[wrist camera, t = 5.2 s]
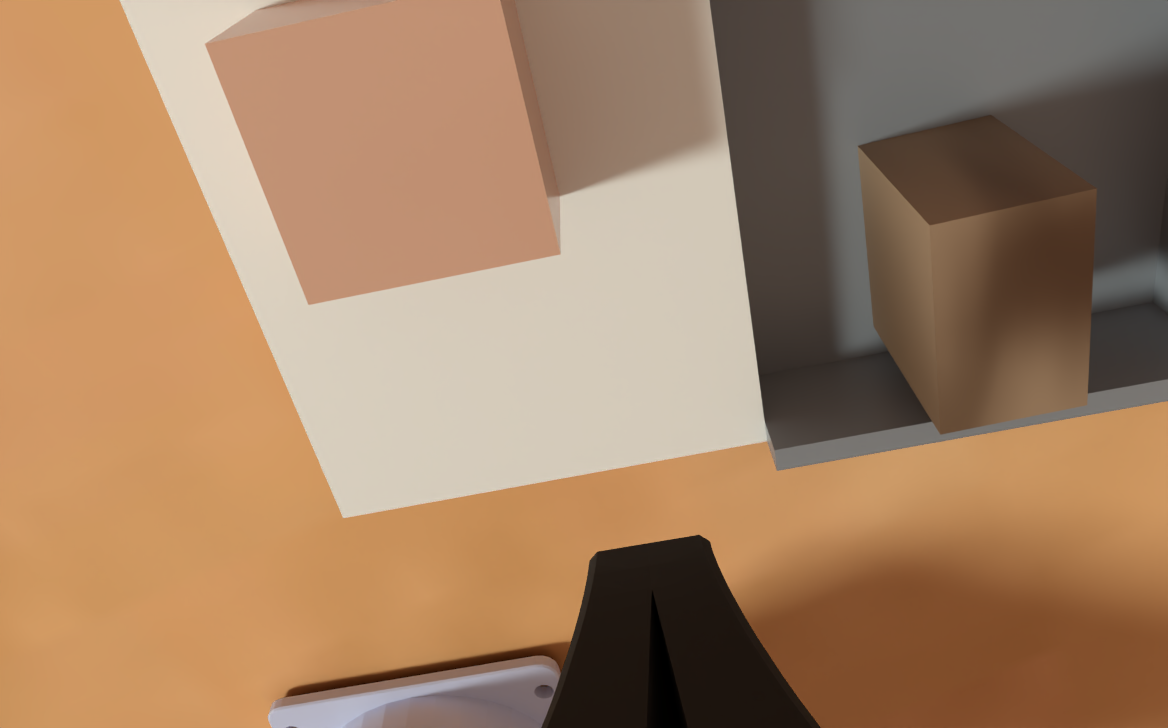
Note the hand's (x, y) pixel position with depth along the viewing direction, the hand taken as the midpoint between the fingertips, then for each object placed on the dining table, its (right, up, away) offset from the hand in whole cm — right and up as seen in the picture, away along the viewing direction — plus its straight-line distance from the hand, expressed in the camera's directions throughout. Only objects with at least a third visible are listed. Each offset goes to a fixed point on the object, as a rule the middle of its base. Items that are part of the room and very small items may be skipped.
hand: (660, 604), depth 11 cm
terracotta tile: (-4, +7, +4) cm, 9 cm away
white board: (-3, +6, +7) cm, 10 cm away
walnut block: (+5, +4, +6) cm, 9 cm away
